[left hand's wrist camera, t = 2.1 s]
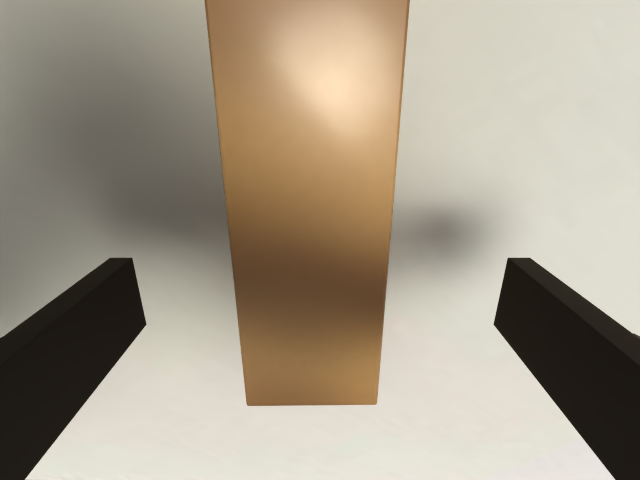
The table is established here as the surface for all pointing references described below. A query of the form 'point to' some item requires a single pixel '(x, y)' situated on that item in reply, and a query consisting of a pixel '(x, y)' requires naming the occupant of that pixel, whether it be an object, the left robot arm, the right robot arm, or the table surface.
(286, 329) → the wooden beam
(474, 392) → the table surface
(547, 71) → the table surface
